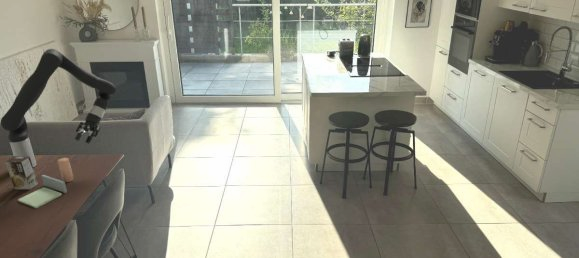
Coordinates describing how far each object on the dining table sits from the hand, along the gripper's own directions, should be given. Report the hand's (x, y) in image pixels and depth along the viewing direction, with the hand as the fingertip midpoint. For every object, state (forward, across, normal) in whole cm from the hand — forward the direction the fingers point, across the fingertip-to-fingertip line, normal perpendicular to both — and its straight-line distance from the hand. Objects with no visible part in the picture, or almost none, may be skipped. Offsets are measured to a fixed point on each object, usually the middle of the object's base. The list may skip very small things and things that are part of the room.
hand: (81, 141), depth 214 cm
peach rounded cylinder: (+21, 0, +3) cm, 22 cm away
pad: (+34, +4, -9) cm, 35 cm away
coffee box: (+31, -14, -6) cm, 35 cm away
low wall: (+28, +2, -3) cm, 28 cm away
